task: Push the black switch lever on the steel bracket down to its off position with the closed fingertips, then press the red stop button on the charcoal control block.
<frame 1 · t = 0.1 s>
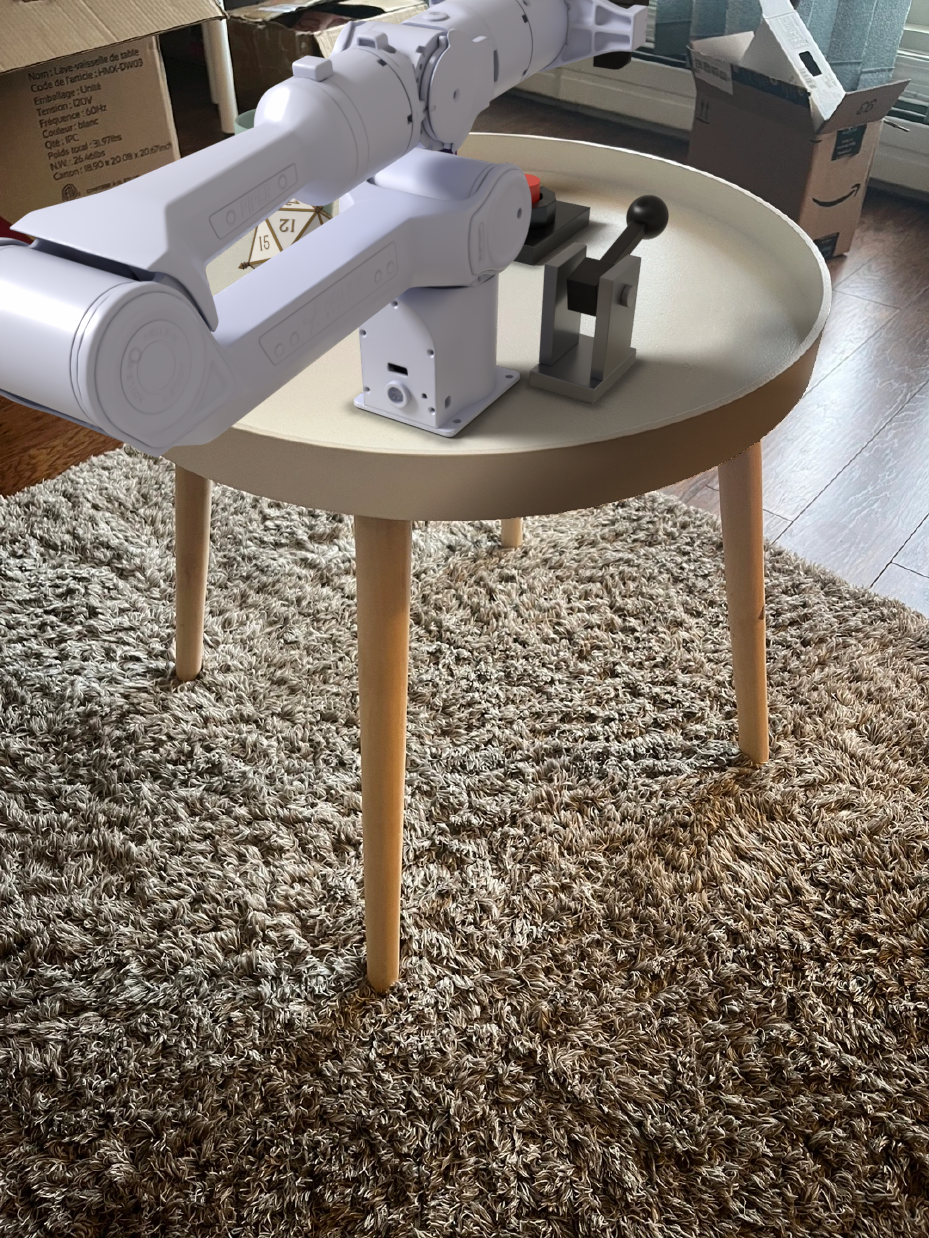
switch bracket: (582, 374, 71), on the table
game die: (302, 297, 81), on the table
control block: (517, 235, 91), on the table
beverage can: (428, 195, 99), on the table
switch lever: (620, 250, 69), point 7 cm above the table, hinge at 12.0°
cup: (294, 240, 90), on the table
stop button: (519, 190, 88), point 4 cm above the table, slide at 0.1 cm
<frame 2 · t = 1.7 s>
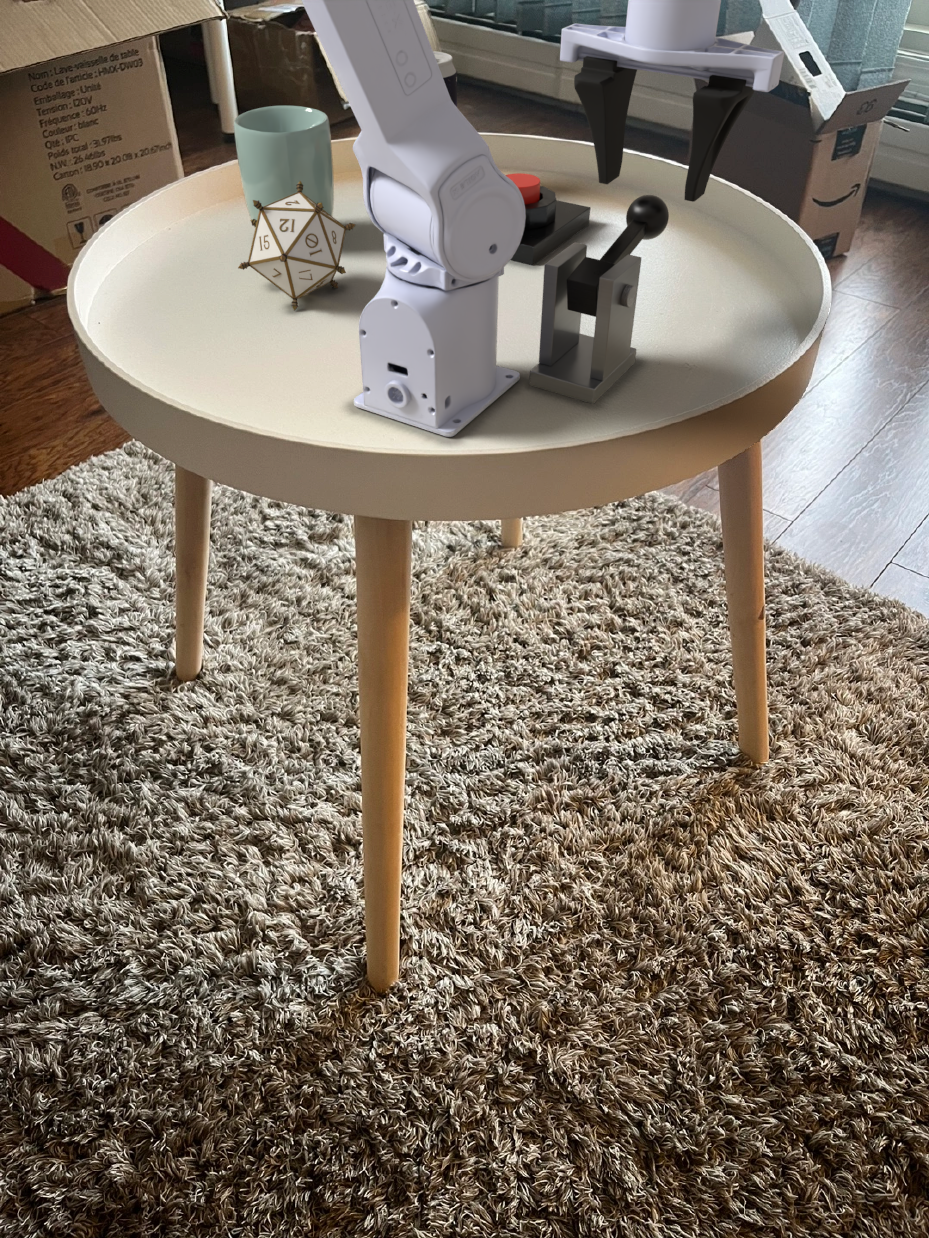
hand: (650, 188, 70), 10 cm above the table, tool pointing down, fingers open, 6 cm apart
nothing on the table moved.
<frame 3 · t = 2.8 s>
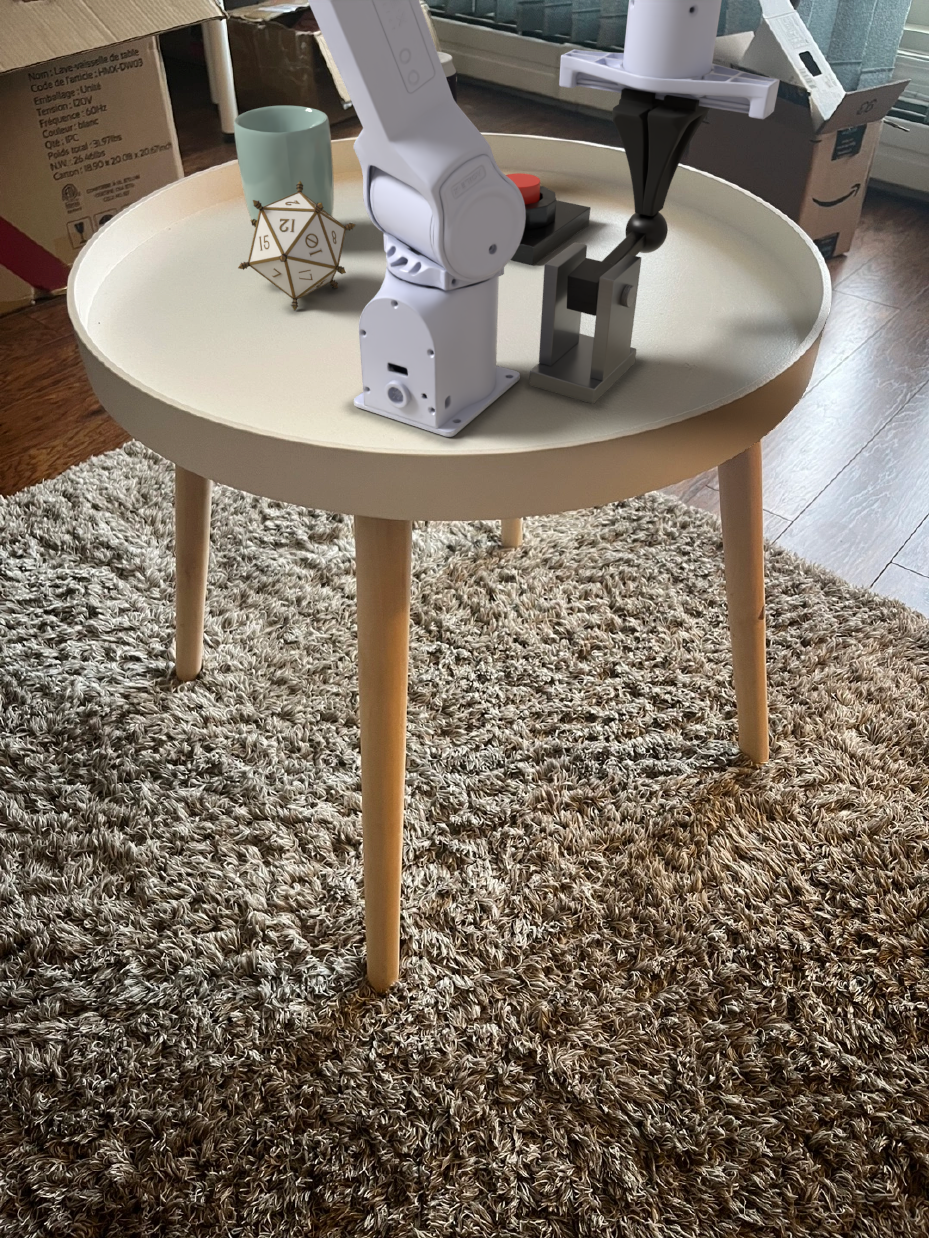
hand: (648, 210, 71), 9 cm above the table, tool pointing down, fingers closed
switch lever: (620, 257, 70), point 7 cm above the table, hinge at 5.4°
everything else where it was.
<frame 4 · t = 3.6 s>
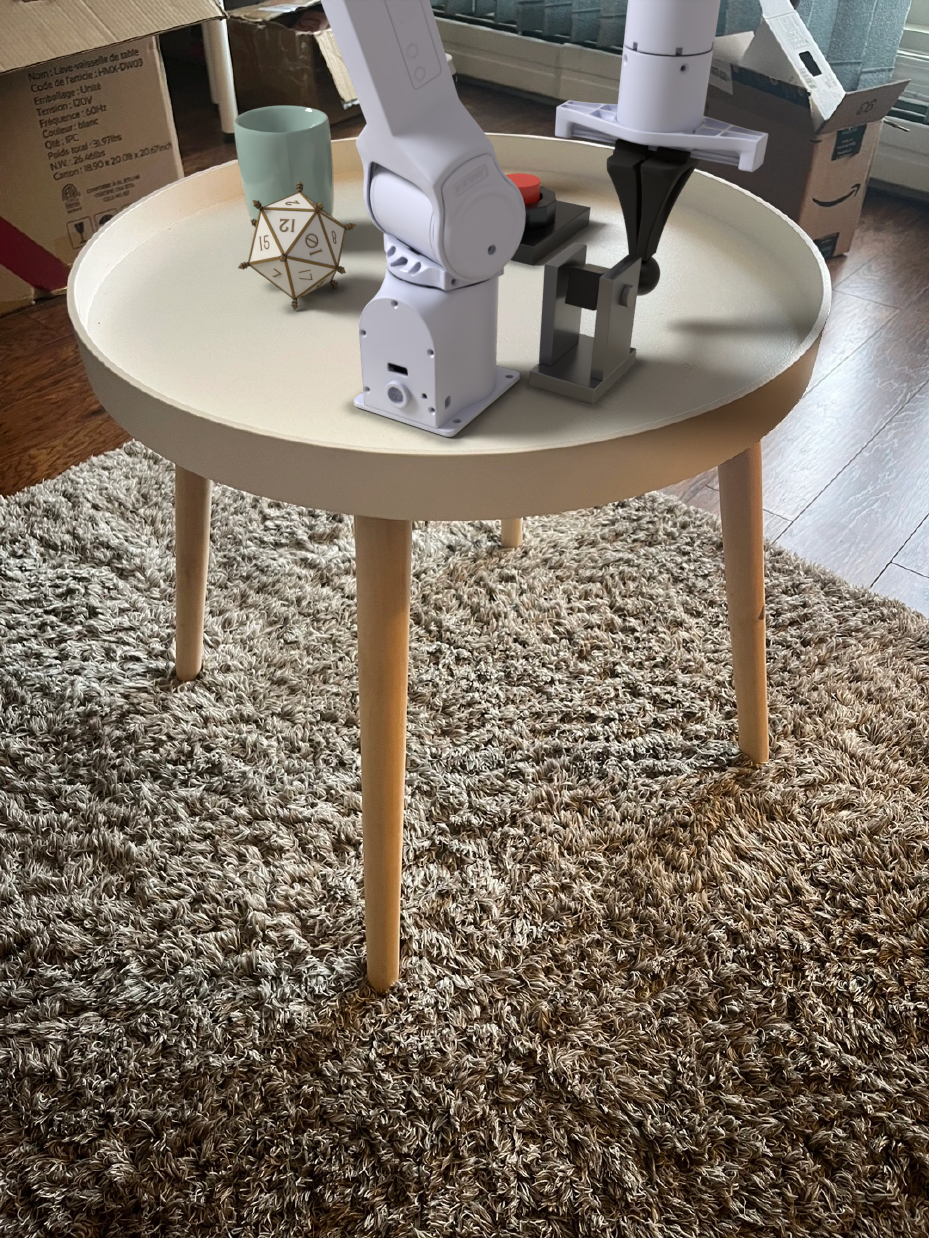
hand: (642, 255, 73), 6 cm above the table, tool pointing down, fingers closed, pressing on switch lever
switch lever: (616, 280, 71), point 5 cm above the table, hinge at -14.8°, touching gripper
everything else where it was.
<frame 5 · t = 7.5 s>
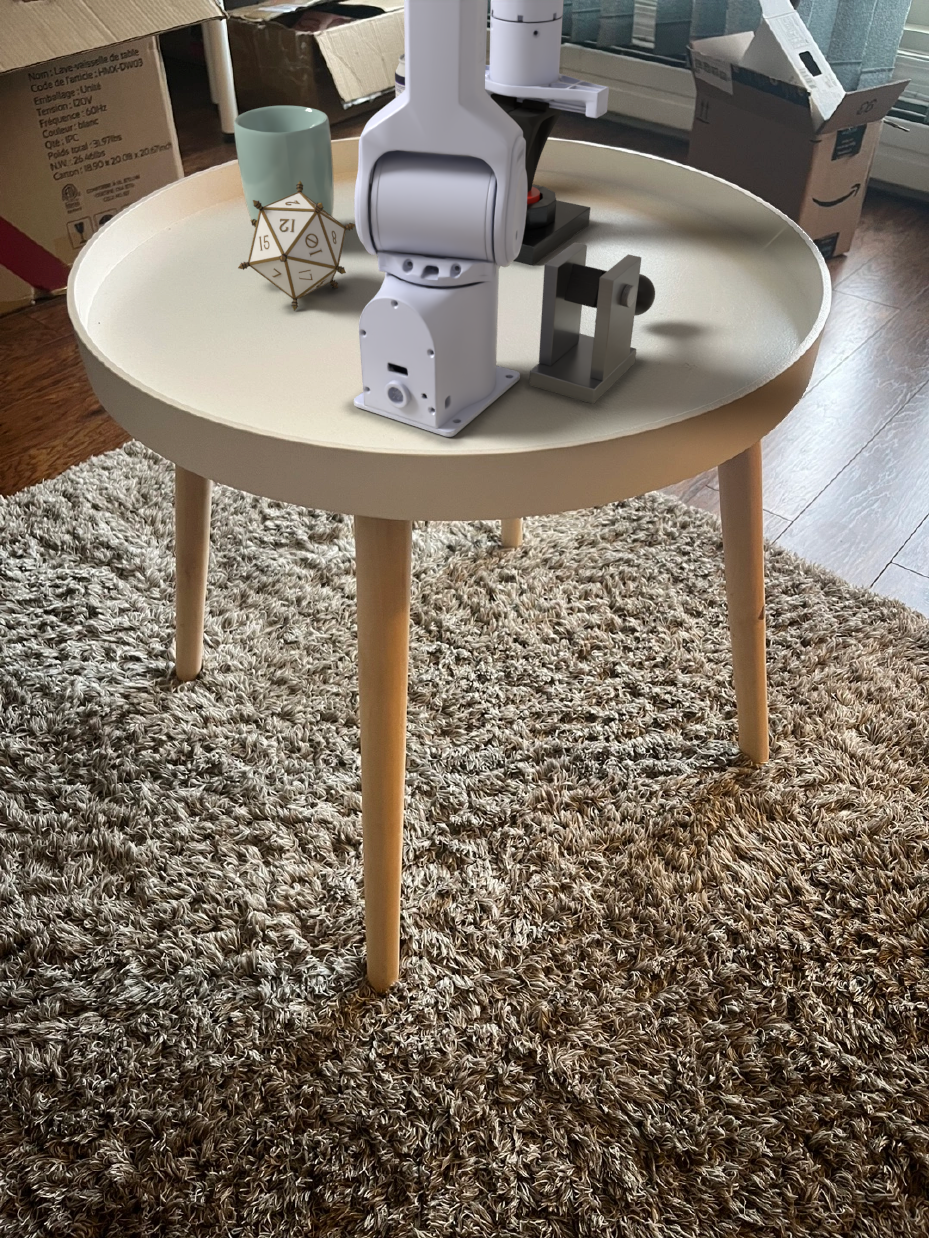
hand: (519, 192, 88), 4 cm above the table, tool pointing down, fingers closed, pressing on stop button
switch lever: (614, 291, 71), point 5 cm above the table, hinge at -24.0°
stop button: (519, 202, 89), point 3 cm above the table, slide at -0.9 cm, touching gripper
everything else where it was.
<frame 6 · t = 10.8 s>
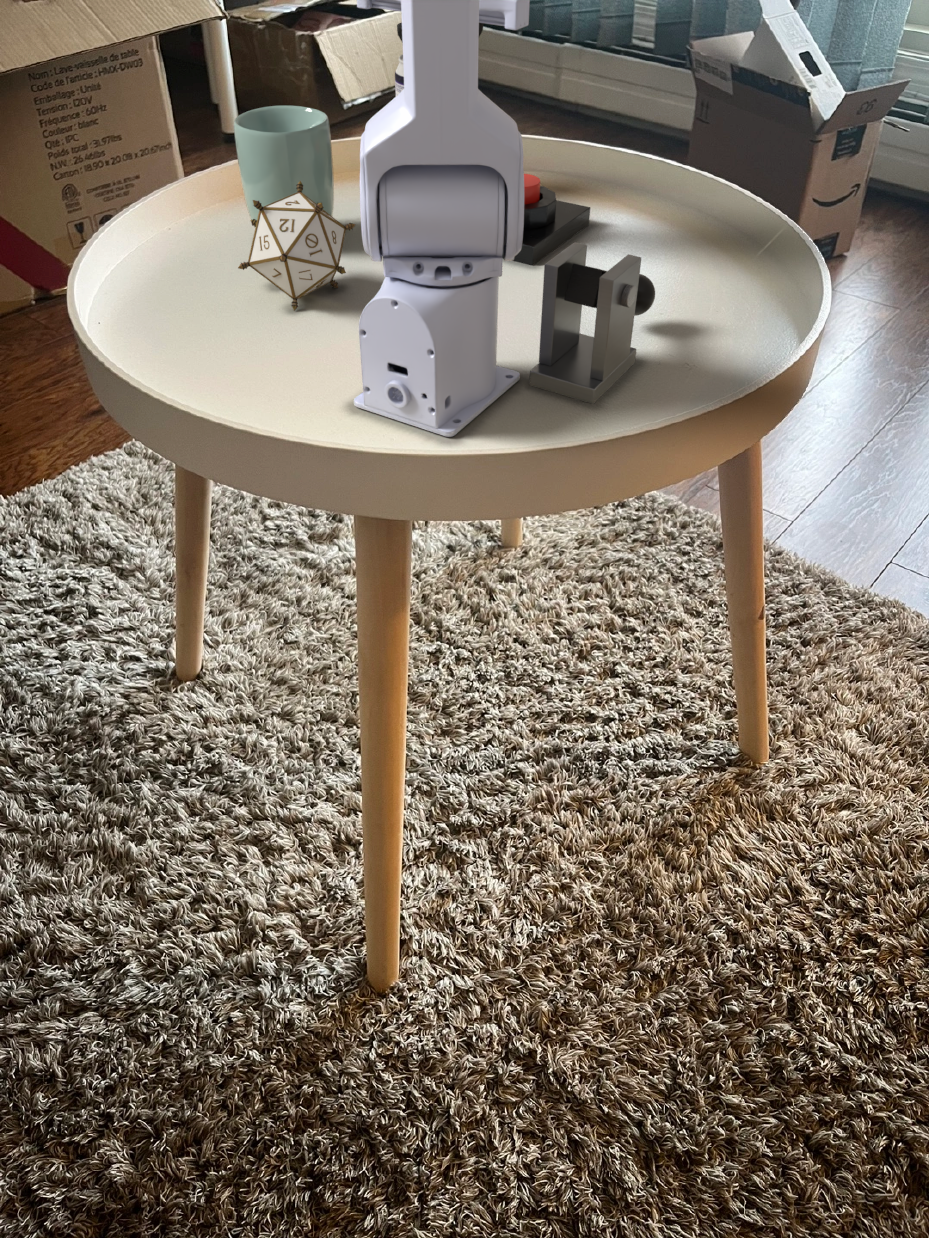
hand: (441, 118, 82), 10 cm above the table, tool pointing down, fingers closed
stop button: (519, 190, 88), point 4 cm above the table, slide at 0.1 cm
everything else where it was.
at the end: switch lever at -24° (first picture: +12°); stop button pushed in 1.2 cm at the most during the clip, back to where it started at the end; stop button slide at 0.1 cm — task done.
